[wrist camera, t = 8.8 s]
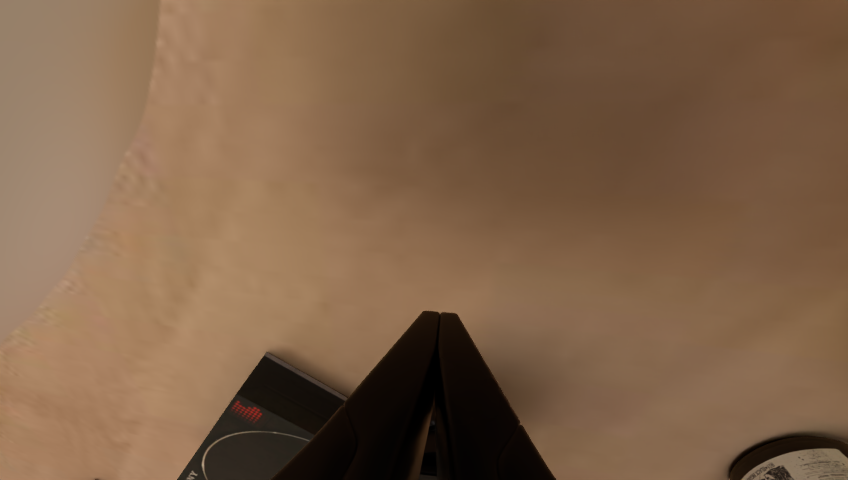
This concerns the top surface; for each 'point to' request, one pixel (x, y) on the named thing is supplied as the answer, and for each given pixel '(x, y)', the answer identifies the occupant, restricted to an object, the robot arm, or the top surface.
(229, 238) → the top surface
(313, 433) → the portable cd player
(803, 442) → the ink bottle
